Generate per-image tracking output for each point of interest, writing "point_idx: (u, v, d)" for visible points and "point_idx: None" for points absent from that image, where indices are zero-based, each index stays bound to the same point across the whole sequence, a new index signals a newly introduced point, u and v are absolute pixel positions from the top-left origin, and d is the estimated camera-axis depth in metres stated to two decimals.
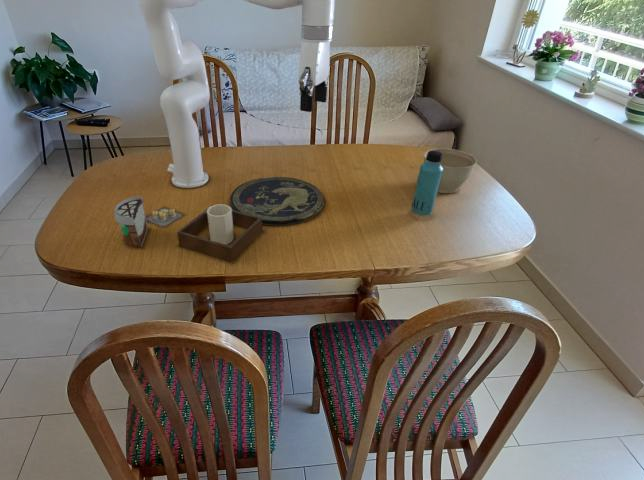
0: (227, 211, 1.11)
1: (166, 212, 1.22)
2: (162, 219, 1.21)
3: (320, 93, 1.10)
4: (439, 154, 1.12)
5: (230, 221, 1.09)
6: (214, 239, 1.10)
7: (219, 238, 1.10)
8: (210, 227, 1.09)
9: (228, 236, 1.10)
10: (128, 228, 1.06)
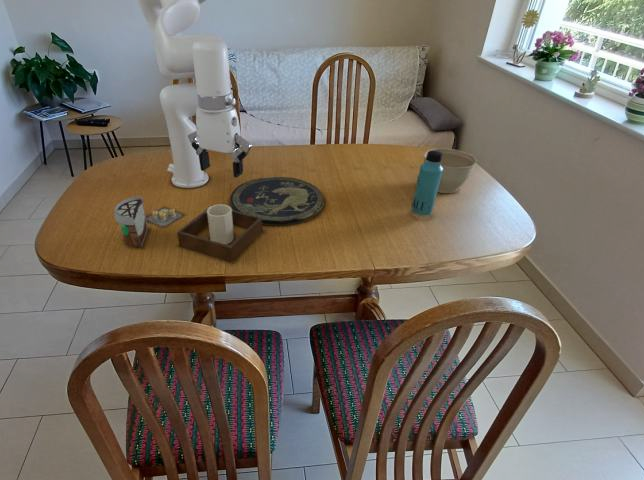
0: (227, 211, 1.11)
1: (166, 212, 1.22)
2: (162, 219, 1.21)
3: None
4: (439, 154, 1.12)
5: (230, 221, 1.09)
6: (214, 239, 1.10)
7: (219, 238, 1.10)
8: (210, 227, 1.09)
9: (228, 236, 1.10)
10: (128, 228, 1.06)
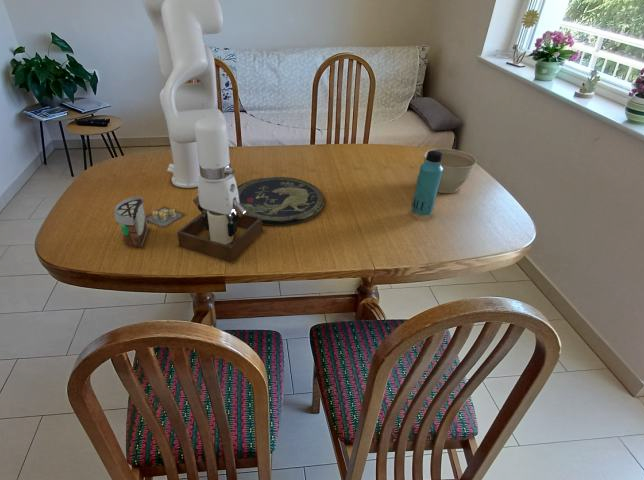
0: None
1: (166, 212, 1.22)
2: (162, 219, 1.21)
3: None
4: (439, 154, 1.12)
5: None
6: (214, 239, 1.10)
7: (219, 238, 1.10)
8: (210, 227, 1.09)
9: (228, 236, 1.10)
10: (128, 228, 1.06)
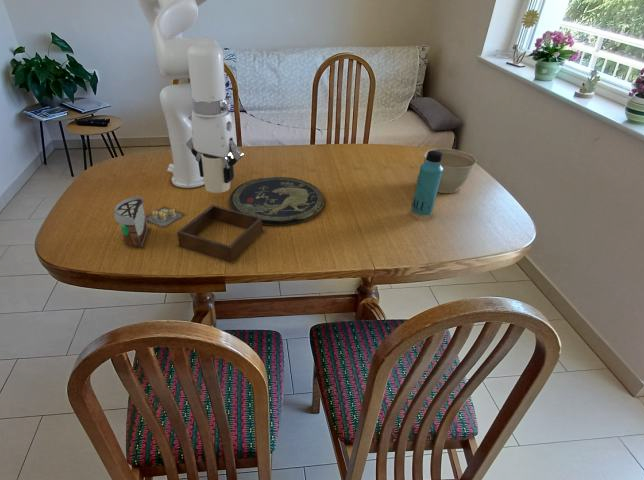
0: None
1: (166, 212, 1.22)
2: (162, 219, 1.21)
3: None
4: (439, 154, 1.12)
5: None
6: (209, 186, 1.02)
7: (215, 185, 1.01)
8: (204, 172, 1.00)
9: (224, 182, 1.01)
10: (128, 228, 1.06)
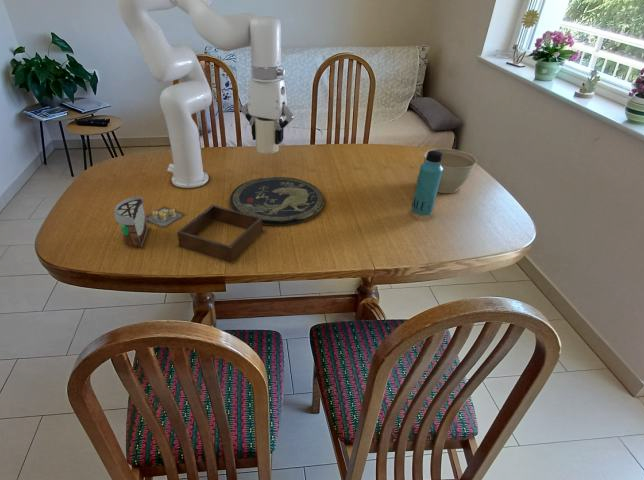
0: None
1: (166, 212, 1.22)
2: (162, 219, 1.21)
3: None
4: (439, 154, 1.12)
5: None
6: (261, 147, 1.14)
7: (267, 146, 1.13)
8: (258, 134, 1.12)
9: (274, 144, 1.13)
10: (128, 228, 1.06)
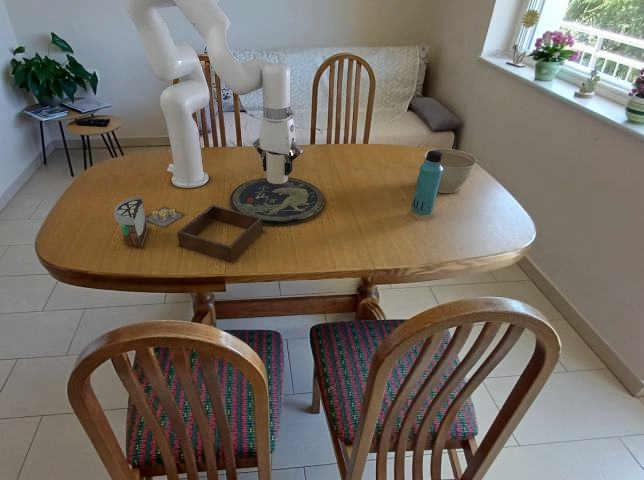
0: None
1: (166, 212, 1.22)
2: (162, 219, 1.21)
3: None
4: (439, 154, 1.12)
5: None
6: (272, 178, 1.23)
7: (277, 177, 1.22)
8: (269, 167, 1.22)
9: (284, 175, 1.23)
10: (128, 228, 1.06)
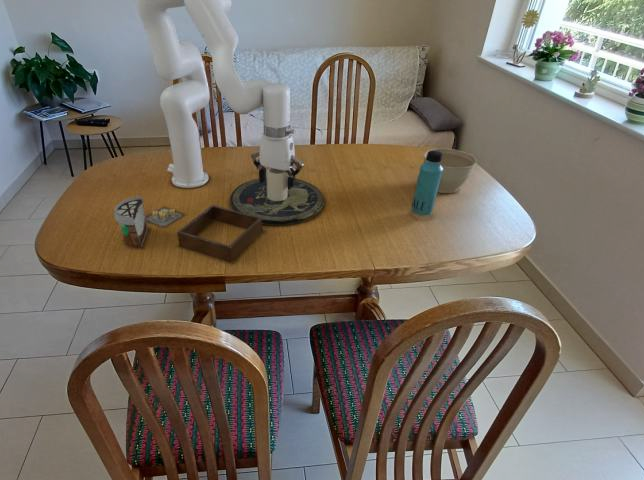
0: (283, 171, 1.27)
1: (166, 212, 1.22)
2: (162, 219, 1.21)
3: None
4: (439, 154, 1.12)
5: (286, 179, 1.25)
6: (272, 196, 1.26)
7: (277, 195, 1.26)
8: (269, 185, 1.25)
9: (284, 193, 1.26)
10: (128, 228, 1.06)
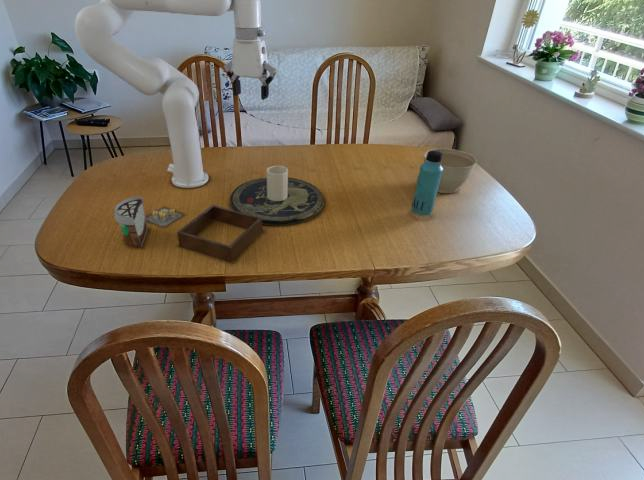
0: (283, 171, 1.27)
1: (166, 212, 1.22)
2: (162, 219, 1.21)
3: None
4: (439, 154, 1.12)
5: (286, 179, 1.25)
6: (272, 196, 1.26)
7: (277, 195, 1.26)
8: (269, 185, 1.25)
9: (284, 193, 1.26)
10: (128, 228, 1.06)
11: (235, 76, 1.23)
